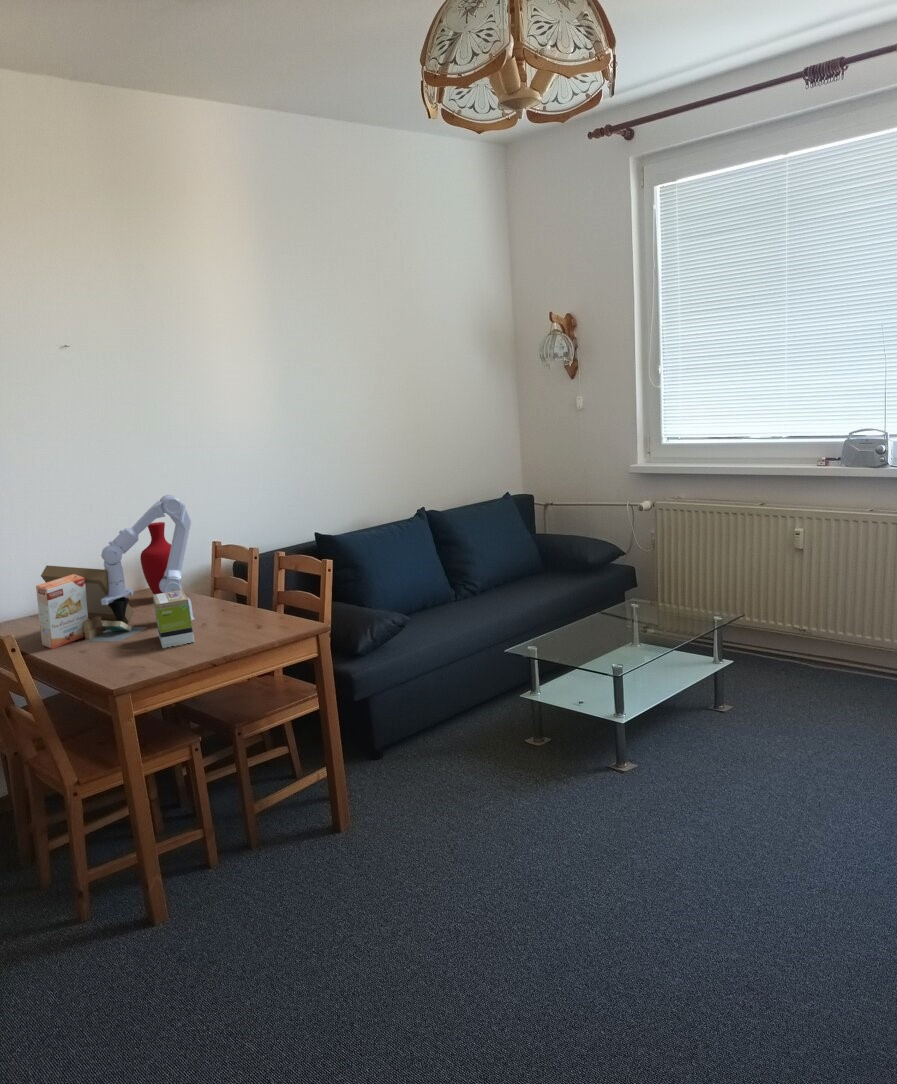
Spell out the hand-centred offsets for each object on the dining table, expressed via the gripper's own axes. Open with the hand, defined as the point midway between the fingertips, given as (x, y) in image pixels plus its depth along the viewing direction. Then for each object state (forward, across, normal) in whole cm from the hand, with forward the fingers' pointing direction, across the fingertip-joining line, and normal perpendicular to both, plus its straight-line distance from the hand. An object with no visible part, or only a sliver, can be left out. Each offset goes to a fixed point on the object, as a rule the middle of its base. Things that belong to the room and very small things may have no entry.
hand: (120, 620), depth 287 cm
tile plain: (+4, +7, -6) cm, 10 cm away
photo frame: (-3, -13, -14) cm, 19 cm away
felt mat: (+4, +4, 0) cm, 5 cm away
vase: (+4, -44, -12) cm, 45 cm away
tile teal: (+3, 0, 0) cm, 3 cm away
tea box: (+4, +9, +26) cm, 28 cm away
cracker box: (+3, +13, -12) cm, 18 cm away
